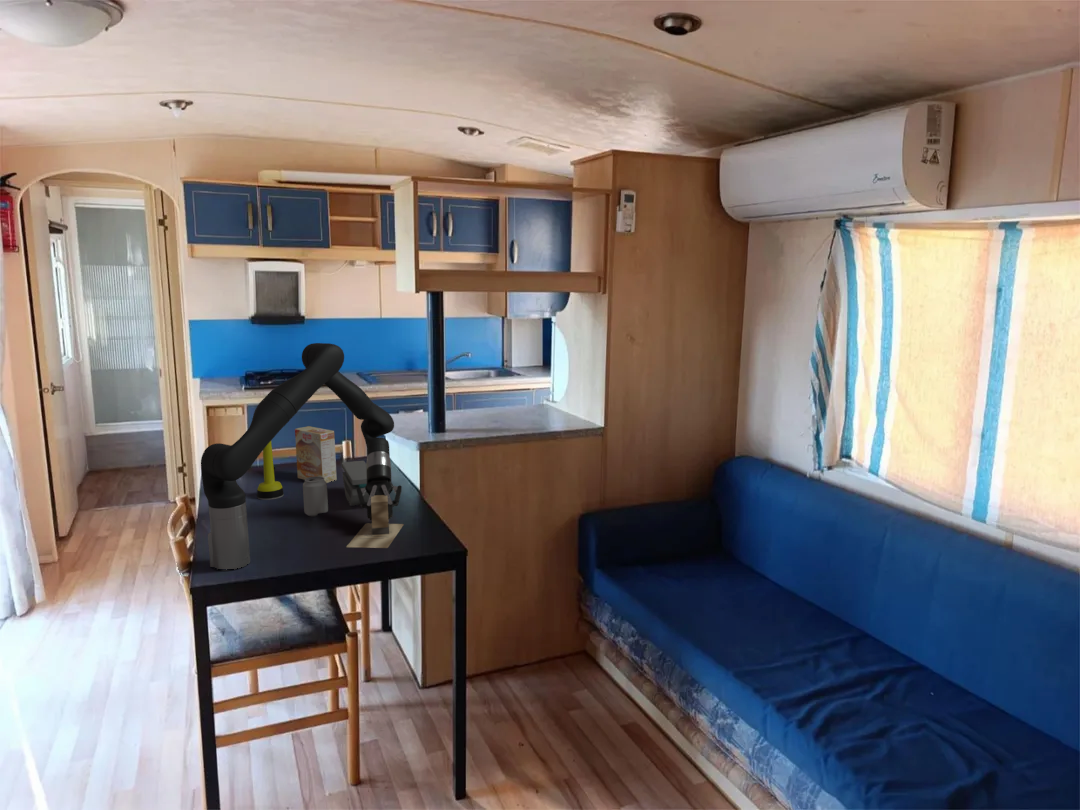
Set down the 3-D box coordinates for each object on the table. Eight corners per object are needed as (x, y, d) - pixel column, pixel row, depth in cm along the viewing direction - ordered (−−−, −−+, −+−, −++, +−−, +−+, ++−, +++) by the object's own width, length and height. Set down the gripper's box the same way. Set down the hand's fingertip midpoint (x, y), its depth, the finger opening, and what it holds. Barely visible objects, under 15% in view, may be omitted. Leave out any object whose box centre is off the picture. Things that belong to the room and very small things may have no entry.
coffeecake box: (296, 478, 282) (293, 428, 279) (312, 474, 288) (309, 425, 285) (322, 484, 274) (319, 433, 270) (337, 480, 280) (334, 430, 276)
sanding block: (372, 534, 218) (370, 502, 216) (372, 524, 227) (371, 493, 225) (389, 533, 219) (387, 501, 217) (388, 523, 228) (387, 492, 226)
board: (346, 551, 209) (345, 547, 208) (366, 527, 228) (365, 523, 228) (387, 551, 208) (387, 547, 208) (404, 527, 228) (404, 524, 227)
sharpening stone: (343, 491, 265) (341, 462, 263) (365, 489, 268) (363, 460, 266) (353, 512, 242) (352, 480, 241) (377, 509, 245) (376, 478, 244)
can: (318, 508, 246) (316, 474, 244) (333, 512, 242) (331, 477, 240) (299, 514, 240) (297, 479, 238) (314, 518, 236) (312, 482, 234)
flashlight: (262, 430, 249) (284, 426, 257) (246, 427, 254) (268, 423, 262) (267, 501, 254) (289, 495, 261) (251, 497, 259) (273, 490, 266)
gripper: (354, 464, 225) (355, 514, 216) (401, 462, 228) (404, 511, 219) (355, 476, 231) (356, 525, 222) (401, 473, 234) (404, 522, 225)
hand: (380, 518), depth 220 cm, fingers closed on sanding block, 4 cm apart
